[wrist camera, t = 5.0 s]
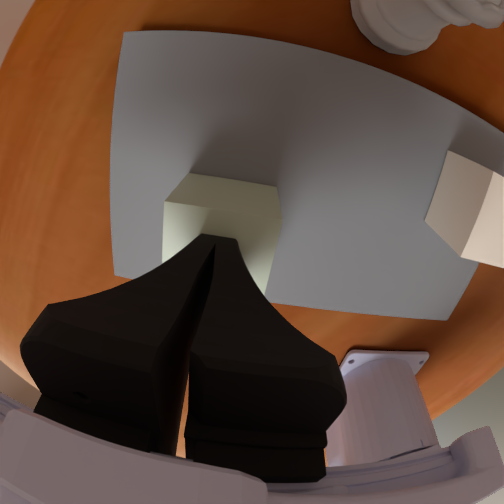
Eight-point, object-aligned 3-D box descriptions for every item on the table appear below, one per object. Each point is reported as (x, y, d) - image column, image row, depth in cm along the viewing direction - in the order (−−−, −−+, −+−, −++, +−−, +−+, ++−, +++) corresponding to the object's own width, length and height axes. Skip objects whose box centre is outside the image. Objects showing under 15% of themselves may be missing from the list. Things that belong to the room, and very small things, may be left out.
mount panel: (438, 307, 19) (461, 344, 15) (124, 261, 17) (97, 302, 14) (506, 140, 12) (549, 158, 9) (136, 36, 11) (97, 23, 7)
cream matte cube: (471, 235, 14) (507, 269, 11) (424, 221, 14) (460, 257, 10) (494, 173, 12) (537, 197, 9) (448, 150, 12) (493, 171, 8)
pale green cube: (260, 262, 15) (260, 311, 12) (181, 249, 15) (162, 294, 12) (276, 186, 13) (282, 219, 10) (188, 172, 13) (164, 201, 10)
